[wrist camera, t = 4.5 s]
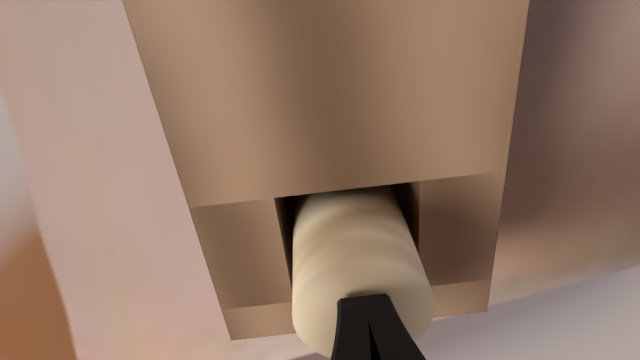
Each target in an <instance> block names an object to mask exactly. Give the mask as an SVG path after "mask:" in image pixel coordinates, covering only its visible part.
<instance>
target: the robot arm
mask: <svg viewBox="0 0 640 360" xmlns="http://www.w3.org/2000/svg"><path fill="white" fill-rule="evenodd" d="M331 360H426V359H425V357H424V356H423V354H422V353H421V351H420V350H419V348H418V347H417V345H416V344H415V342H414V341H413V339H412V337H411V336H410V334H409V333H408V331H407V329H406V327H405V326H404V324H403V322H402V320H401V319H400V317H399V315H398V313H397V311H396V309H395V307H394V305H393V303H392V301H391V298H390V296H389V295H387V294H386V293H384V294H375V295H366V296H357V297H348V298H341V299H339V300H338V301H337V323H336V332H335V339H334V345H333V350H332V355H331Z"/></svg>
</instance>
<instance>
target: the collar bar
mask: <svg viewBox="0 0 640 360" xmlns="http://www.w3.org/2000/svg"><path fill="white" fill-rule="evenodd" d="M122 2H123V5H124V8H125V11H126V14H127V18H128V21H129V24H130V27H131V30H132V33H133V36H134V39H135V42H136V46H137V49H138V52H139V55H140V58H141V61H142V64H143V67H144V70H145V74H146V77H147V80H148V83H149V86H150V89H151V92H152V95H153V98H154V102H155V105H156V108H157V111H158V114H159V117H160V120H161V123H162V126H163V129H164V133H165V136H166V139H167V142H168V145H169V148H170V151H171V154H172V157H173V161H174V164H175V167H176V170H177V173H178V176H179V179H180V182H181V185H182V189H183V192H184V195H185V198H186V201H187V204H188V207H189V210H190V213H191V217H192V220H193V223H194V226H195V229H196V232H197V235H198V238H199V241H200V245H201V248H202V251H203V254H204V257H205V260H206V263H207V266H208V269H209V273H210V276H211V279H212V282H213V285H214V288H215V291H216V294H217V297H218V301H219V304H220V307H221V310H222V313H223V316H224V319H225V322H226V325H227V329H228V332H229V335H230V338H231V340H239V339H248V338H257V337H266V336H275V335H283V334H292V333H296V331H295V328H294V325H293V319H292V288H293V210H292V205H291V199H290V196H294V195H303V194H312V193H320V192H329V191H337V190H346V189H354V188H363V187H372V186H380V185H389V184H391V188H392V190H393V191H394V193H395V195H396V197H397V200H398V202H399V205H400V207H401V210H402V213H403V215H404V218H405V221H406V223H407V226H408V229H409V231H410V234H411V237H412V239H413V242H414V244H415V247H416V250H417V252H418V255H419V258H420V260H421V263H422V266H423V268H424V271H425V273H426V276H427V279H428V281H429V284H430V287H431V289H432V292H433V295H434V299H435V312H434V316H433V318H434V317H443V316H452V315H461V314H470V313H478V312H487V308H488V300H489V293H490V286H491V278H492V271H493V264H494V256H495V249H496V242H497V234H498V227H499V220H500V212H501V205H502V198H503V190H504V183H505V176H506V168H507V161H508V154H509V146H510V139H511V132H512V124H513V117H514V110H515V102H516V95H517V88H518V80H519V73H520V66H521V58H522V51H523V44H524V36H525V29H526V22H527V14H528V7H529V0H122Z"/></svg>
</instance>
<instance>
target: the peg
mask: <svg viewBox="0 0 640 360" xmlns="http://www.w3.org/2000/svg"><path fill="white" fill-rule="evenodd" d="M384 293H386V294H387V295H389V296H390V298H391V301H392V303H393V305H394V307H395V309H396V311H397V313H398V315H399V317H400V319H401V320H402V322H403V324H404V326H405V327H406V329H407V331H408V333H409V334H410V336H411V337H412V339H413V341H414V342H415V341H416V340H418V339H419V338H420V337H421V336H422V335H423V334H424V333H425V331H426V330H427V328H428V327H429V325H430V323H431V321H432V319H433V316H434V312H435V299H434V295H433V292H432V289H431V287H430V284H429V281H428V279H427V276H426V273H425V271H424V268H423V266H422V263H421V260H420V258H419V255H418V252H417V250H416V247H415V244H414V242H413V239H412V237H411V234H410V231H409V229H408V226H407V223H406V221H405V218H404V215H403V213H402V210H401V207H400V205H399V202H398V200H397V197H396V195H395V193H394V191H393V190H392V188H391V187H390V186H389V185H380V186H372V187H363V188H354V189H346V190H337V191H329V192H320V193H312V194H303V195H299V197H298V198H297V201H296V203H295V207H294V212H293V288H292V319H293V325H294V328H295V331H296V333H297V335H298V336H299V338H300V339H301V340H302V341H303V342H304V343H305V344H306V345H307V346H308V347H310V348H311V349H312V350H314V351H316V352H317V353H319V354H322V355H324V356H327V357H330V358H331V355H332V350H333V345H334V339H335V332H336V323H337V301H338V300H339V299H341V298H348V297H357V296H366V295H375V294H384Z"/></svg>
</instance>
